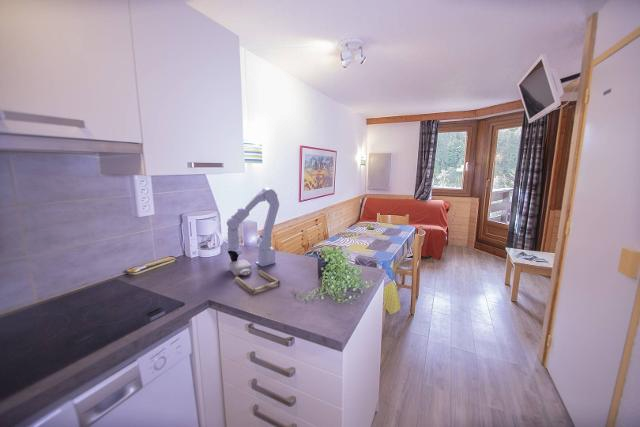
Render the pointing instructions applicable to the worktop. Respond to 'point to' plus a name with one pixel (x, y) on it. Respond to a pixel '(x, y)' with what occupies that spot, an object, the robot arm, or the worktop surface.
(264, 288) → the frame
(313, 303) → the worktop surface
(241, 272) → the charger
